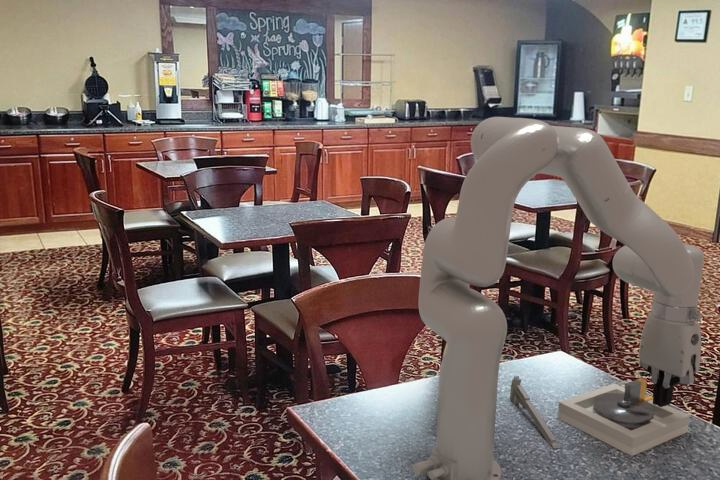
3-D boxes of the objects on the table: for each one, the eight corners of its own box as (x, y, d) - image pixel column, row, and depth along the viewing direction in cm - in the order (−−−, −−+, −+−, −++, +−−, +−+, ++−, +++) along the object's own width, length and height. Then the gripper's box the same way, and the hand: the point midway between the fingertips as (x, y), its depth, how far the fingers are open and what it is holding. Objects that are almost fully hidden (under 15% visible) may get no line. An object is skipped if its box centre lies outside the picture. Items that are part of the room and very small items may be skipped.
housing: (633, 457, 123) (636, 437, 122) (557, 418, 137) (559, 400, 136) (690, 432, 132) (693, 413, 132) (613, 398, 147) (615, 381, 146)
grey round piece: (629, 436, 127) (632, 403, 126) (580, 412, 136) (583, 381, 135) (665, 420, 133) (669, 389, 132) (617, 399, 142) (620, 369, 141)
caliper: (509, 401, 145) (511, 373, 144) (514, 401, 145) (516, 373, 144) (553, 450, 125) (556, 418, 124) (559, 449, 126) (561, 417, 124)
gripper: (724, 320, 123) (710, 416, 126) (651, 298, 135) (640, 385, 139) (699, 326, 119) (685, 425, 122) (626, 302, 131) (615, 393, 135)
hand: (661, 404), depth 131 cm, fingers closed
